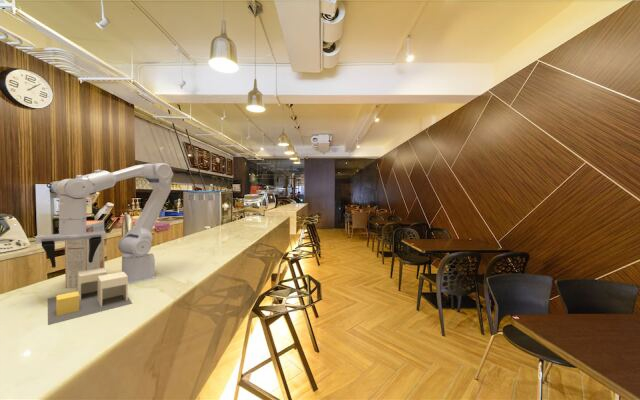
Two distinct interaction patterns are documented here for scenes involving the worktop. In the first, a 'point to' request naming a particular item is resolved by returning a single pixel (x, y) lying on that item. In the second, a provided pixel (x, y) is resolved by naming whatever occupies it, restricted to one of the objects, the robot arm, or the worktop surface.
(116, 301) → the mat
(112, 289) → the box
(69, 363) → the worktop surface
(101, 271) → the box
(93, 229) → the cracker box
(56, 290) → the worktop surface
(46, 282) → the worktop surface
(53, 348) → the worktop surface
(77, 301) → the cube
